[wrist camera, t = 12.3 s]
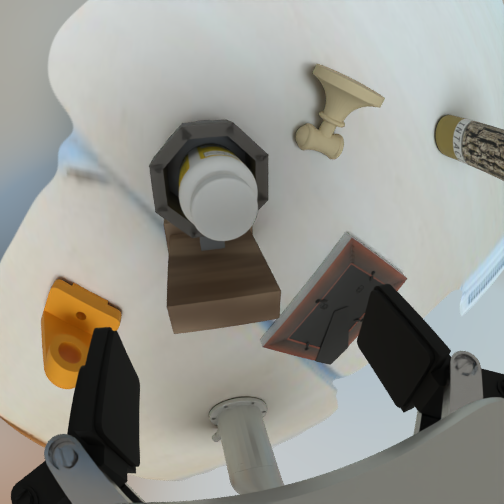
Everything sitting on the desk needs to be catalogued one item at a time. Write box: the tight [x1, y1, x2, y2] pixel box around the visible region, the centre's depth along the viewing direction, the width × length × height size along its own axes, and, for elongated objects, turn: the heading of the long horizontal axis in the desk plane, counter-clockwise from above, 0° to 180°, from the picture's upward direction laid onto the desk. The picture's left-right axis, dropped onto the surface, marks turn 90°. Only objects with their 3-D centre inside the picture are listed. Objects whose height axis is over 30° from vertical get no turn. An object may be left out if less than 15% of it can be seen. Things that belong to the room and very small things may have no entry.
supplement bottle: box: [179, 143, 258, 241], centre depth 21 cm, size 5×5×10 cm
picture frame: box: [260, 232, 407, 365], centre depth 45 cm, size 16×2×22 cm
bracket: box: [41, 279, 122, 389], centre depth 30 cm, size 11×7×12 cm, turn 51°
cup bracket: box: [149, 120, 281, 334], centre depth 26 cm, size 17×10×14 cm, turn 1°
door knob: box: [296, 64, 385, 159], centre depth 28 cm, size 10×8×8 cm
